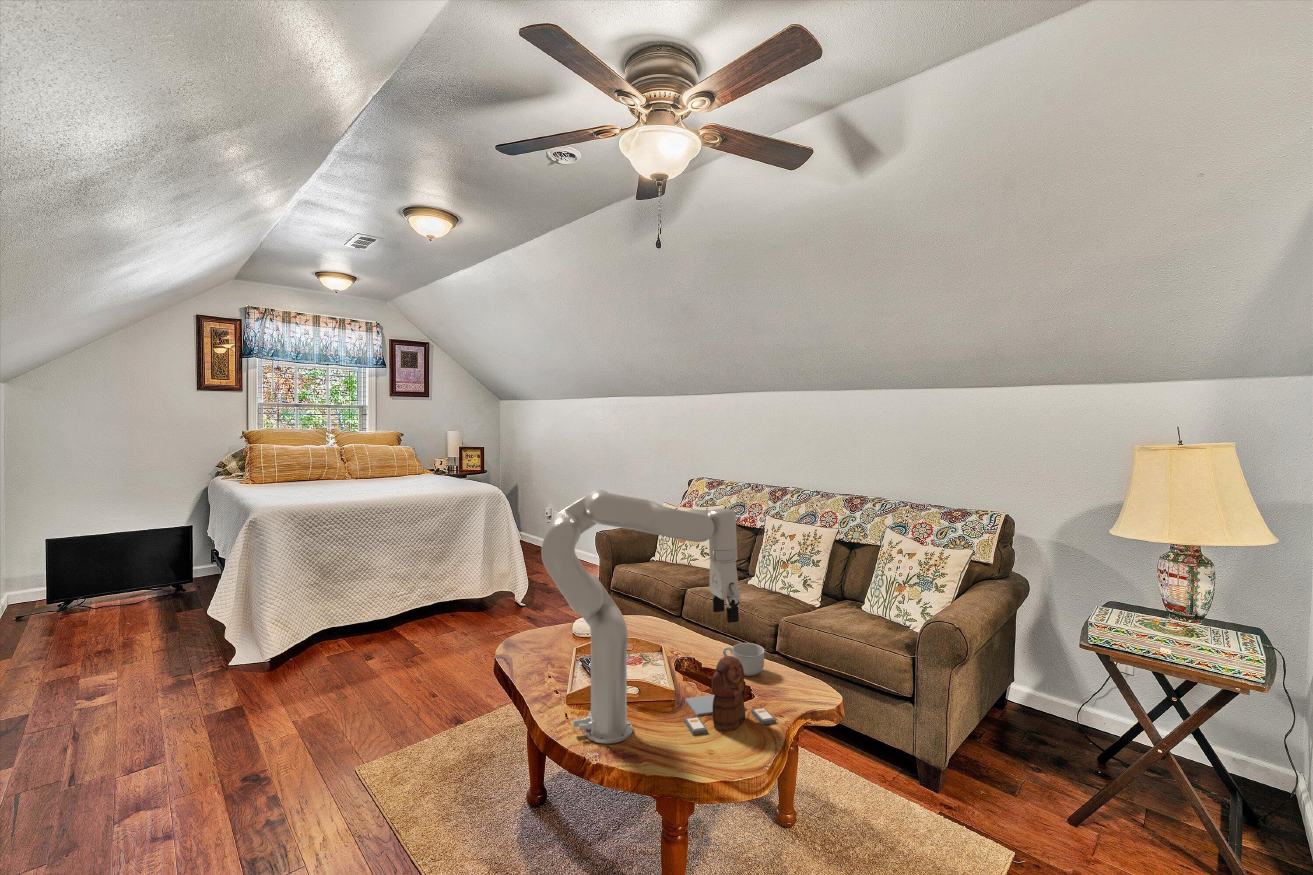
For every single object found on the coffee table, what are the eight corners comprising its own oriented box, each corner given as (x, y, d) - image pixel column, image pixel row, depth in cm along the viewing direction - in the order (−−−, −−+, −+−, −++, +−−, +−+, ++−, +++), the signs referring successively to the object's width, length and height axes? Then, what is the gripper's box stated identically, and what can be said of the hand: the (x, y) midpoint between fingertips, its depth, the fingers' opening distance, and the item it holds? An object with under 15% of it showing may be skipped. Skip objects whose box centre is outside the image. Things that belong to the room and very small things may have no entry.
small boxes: (692, 734, 152) (692, 730, 152) (684, 722, 159) (684, 717, 159) (775, 722, 159) (775, 718, 159) (764, 711, 165) (764, 706, 165)
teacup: (769, 670, 194) (769, 646, 194) (756, 681, 185) (756, 656, 185) (731, 661, 202) (731, 638, 202) (717, 672, 193) (717, 648, 193)
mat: (696, 715, 162) (696, 713, 162) (685, 700, 172) (685, 698, 172) (746, 709, 166) (746, 707, 166) (732, 694, 176) (732, 692, 176)
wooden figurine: (730, 735, 152) (730, 666, 152) (709, 728, 156) (709, 661, 156) (749, 717, 162) (750, 652, 162) (729, 711, 165) (729, 648, 165)
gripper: (699, 549, 166) (701, 609, 166) (722, 562, 150) (725, 628, 150) (723, 547, 168) (725, 606, 168) (749, 559, 152) (751, 624, 152)
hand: (725, 616), depth 159 cm, fingers open, 9 cm apart
